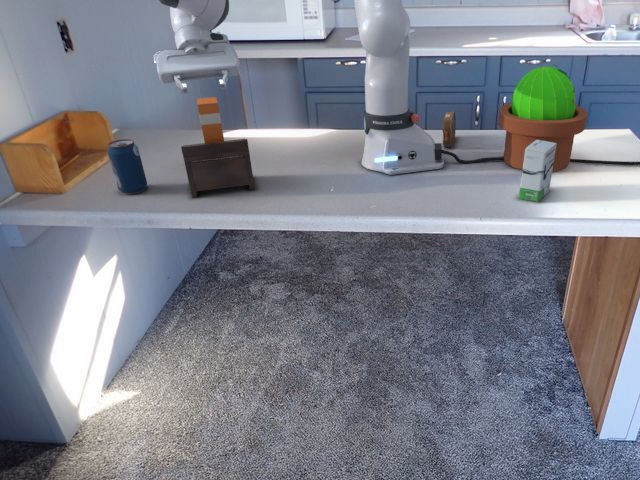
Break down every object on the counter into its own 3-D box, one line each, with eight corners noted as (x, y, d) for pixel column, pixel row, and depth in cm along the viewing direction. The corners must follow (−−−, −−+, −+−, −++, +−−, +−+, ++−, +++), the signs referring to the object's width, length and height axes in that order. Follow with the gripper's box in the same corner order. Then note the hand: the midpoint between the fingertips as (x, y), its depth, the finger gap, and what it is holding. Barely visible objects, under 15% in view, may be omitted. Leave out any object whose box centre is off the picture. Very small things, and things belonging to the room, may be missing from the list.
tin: (451, 151, 157) (452, 121, 152) (440, 150, 158) (441, 121, 153) (455, 135, 169) (457, 108, 165) (445, 135, 170) (446, 107, 166)
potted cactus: (490, 172, 142) (499, 70, 129) (499, 146, 160) (508, 55, 146) (578, 179, 136) (598, 74, 123) (578, 151, 154) (594, 57, 141)
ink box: (538, 203, 124) (545, 152, 118) (517, 198, 127) (523, 148, 120) (550, 190, 131) (557, 141, 124) (530, 186, 133) (536, 138, 127)
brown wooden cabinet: (250, 176, 143) (243, 128, 136) (255, 189, 135) (247, 139, 128) (191, 183, 139) (181, 135, 133) (192, 198, 131) (181, 147, 125)
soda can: (153, 185, 139) (142, 139, 132) (138, 196, 133) (125, 147, 127) (129, 184, 140) (116, 137, 134) (113, 194, 134) (98, 146, 128)
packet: (224, 142, 135) (216, 96, 130) (225, 149, 130) (217, 102, 125) (205, 144, 134) (196, 98, 128) (206, 151, 129) (197, 104, 124)
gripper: (149, 41, 135) (158, 85, 130) (233, 34, 140) (244, 75, 136) (155, 61, 141) (163, 103, 136) (235, 53, 146) (245, 93, 141)
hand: (204, 89), depth 136 cm, fingers open, 8 cm apart
